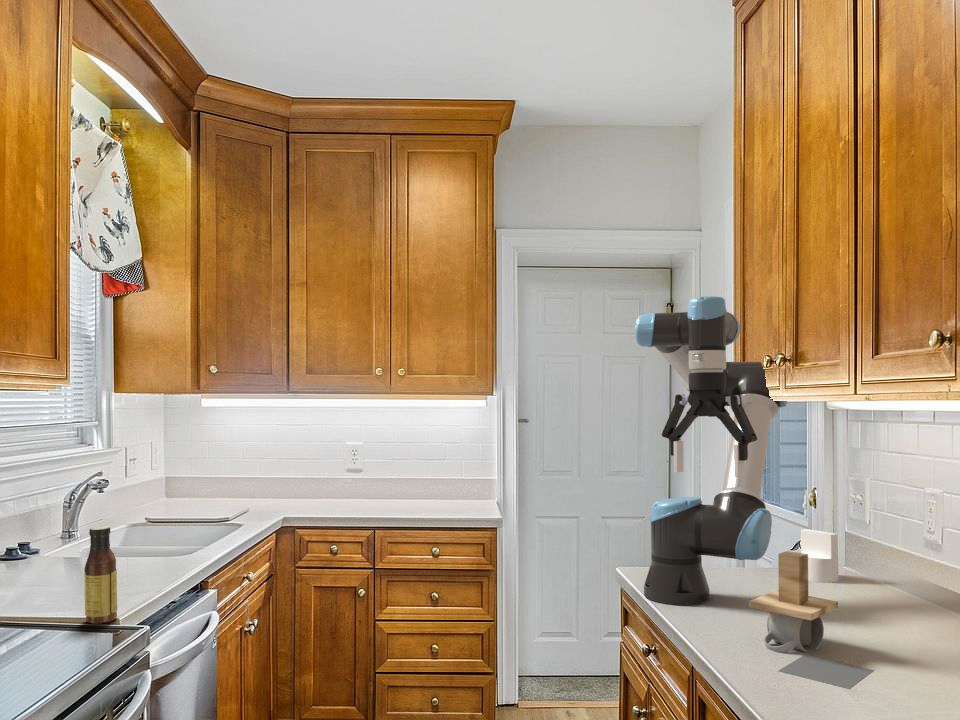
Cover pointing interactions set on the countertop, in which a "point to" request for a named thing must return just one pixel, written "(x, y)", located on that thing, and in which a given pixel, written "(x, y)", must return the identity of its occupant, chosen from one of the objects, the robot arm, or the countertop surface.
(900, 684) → the countertop surface
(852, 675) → the mat
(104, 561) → the sauce bottle
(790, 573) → the wooden plaque with block
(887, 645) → the countertop surface
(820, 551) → the base with upright slab
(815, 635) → the ceramic mug
